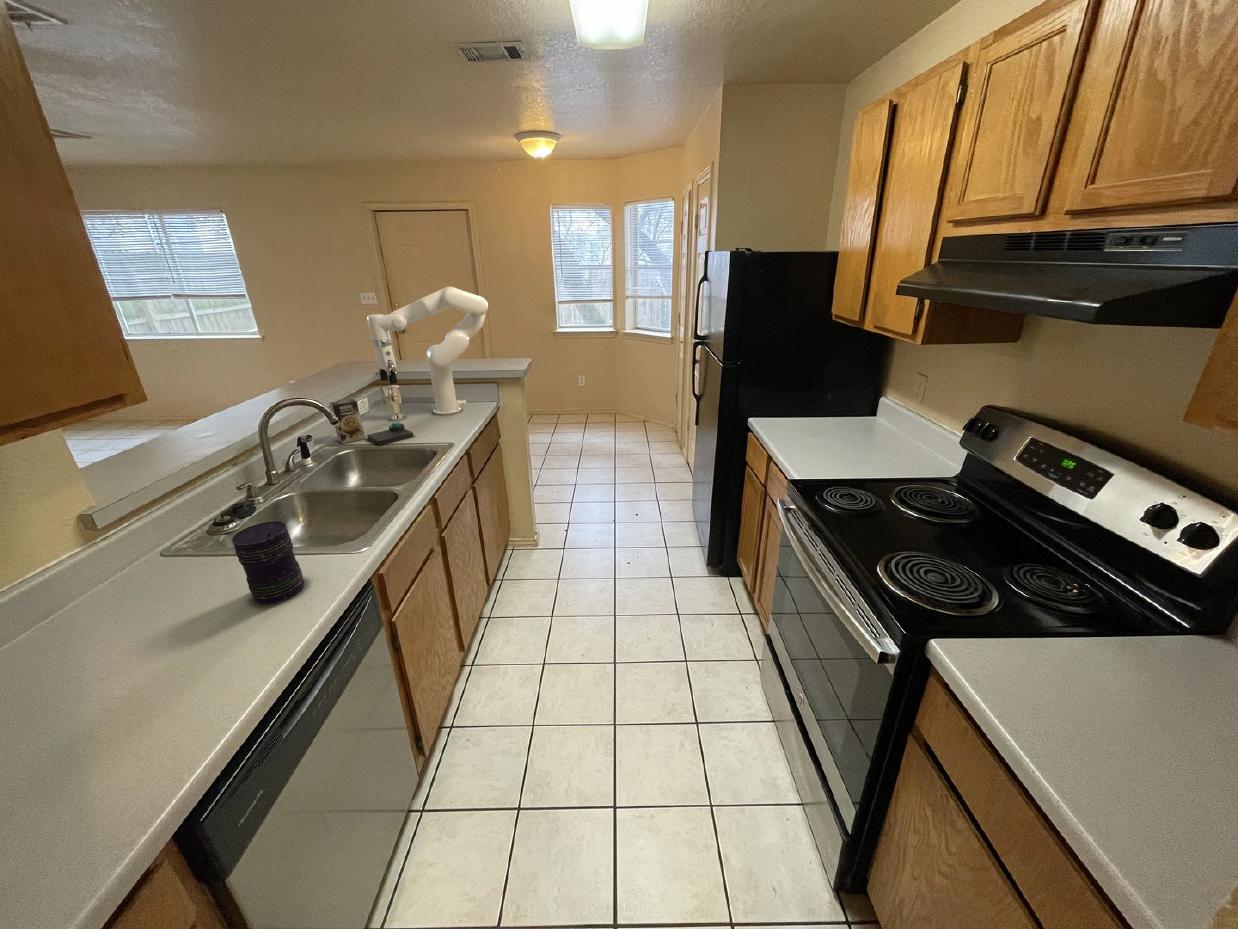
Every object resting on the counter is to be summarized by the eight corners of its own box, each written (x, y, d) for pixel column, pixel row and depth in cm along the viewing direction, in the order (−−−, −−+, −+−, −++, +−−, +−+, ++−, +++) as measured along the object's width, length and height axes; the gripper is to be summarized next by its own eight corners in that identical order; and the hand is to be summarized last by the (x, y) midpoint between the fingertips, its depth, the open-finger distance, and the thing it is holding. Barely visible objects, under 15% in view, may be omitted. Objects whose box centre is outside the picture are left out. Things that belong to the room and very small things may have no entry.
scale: (401, 430, 218) (400, 422, 217) (414, 436, 210) (413, 428, 209) (367, 439, 209) (365, 430, 207) (379, 445, 201) (377, 437, 199)
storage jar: (242, 599, 110) (219, 540, 104) (285, 574, 118) (265, 518, 112) (274, 609, 106) (252, 548, 100) (315, 583, 115) (297, 525, 109)
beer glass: (386, 420, 233) (379, 388, 227) (396, 415, 239) (390, 384, 234) (398, 421, 231) (392, 388, 226) (408, 416, 237) (402, 385, 232)
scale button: (398, 424, 215) (397, 421, 214) (401, 426, 213) (400, 422, 212) (391, 426, 213) (390, 423, 213) (394, 428, 211) (393, 424, 211)
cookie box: (342, 444, 204) (332, 405, 198) (338, 440, 208) (328, 402, 202) (366, 438, 209) (357, 400, 203) (361, 435, 214) (352, 397, 208)
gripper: (398, 344, 219) (405, 383, 225) (382, 340, 230) (389, 377, 237) (381, 346, 214) (388, 386, 220) (365, 342, 225) (373, 380, 232)
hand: (389, 381), depth 229 cm, fingers open, 9 cm apart
